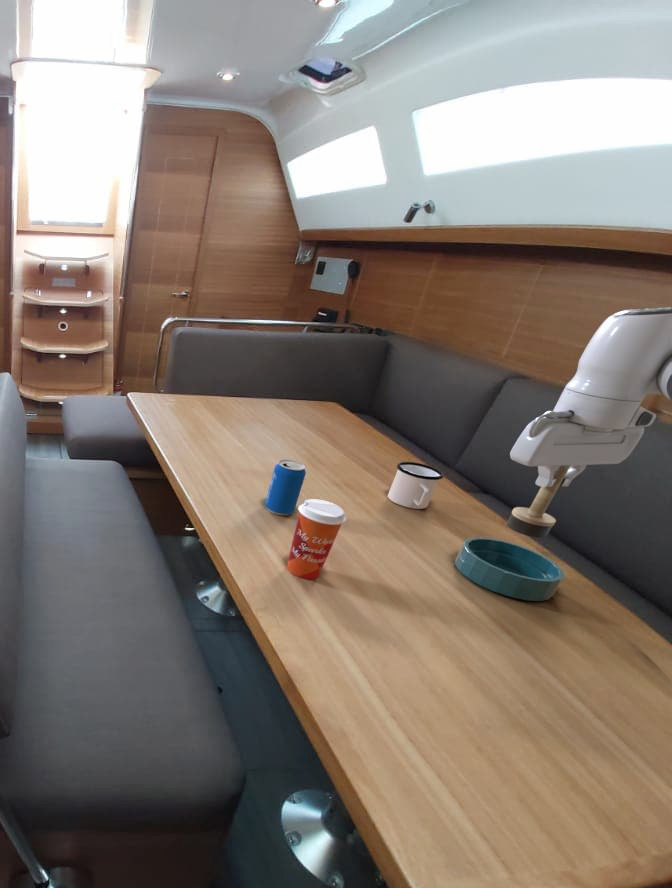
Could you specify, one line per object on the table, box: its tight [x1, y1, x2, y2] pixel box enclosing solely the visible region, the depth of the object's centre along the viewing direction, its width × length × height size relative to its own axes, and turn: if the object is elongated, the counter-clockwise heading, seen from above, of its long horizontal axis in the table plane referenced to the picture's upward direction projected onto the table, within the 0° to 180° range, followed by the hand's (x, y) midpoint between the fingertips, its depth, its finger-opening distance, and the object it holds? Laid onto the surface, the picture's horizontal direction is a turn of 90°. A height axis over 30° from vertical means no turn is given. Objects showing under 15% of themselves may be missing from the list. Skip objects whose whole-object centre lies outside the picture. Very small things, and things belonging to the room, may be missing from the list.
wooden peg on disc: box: [506, 465, 571, 539], centre depth 88 cm, size 6×6×14 cm
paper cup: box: [286, 498, 347, 580], centre depth 93 cm, size 8×8×14 cm
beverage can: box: [264, 459, 307, 516], centre depth 116 cm, size 6×6×12 cm
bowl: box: [454, 536, 565, 602], centre depth 95 cm, size 14×14×5 cm
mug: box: [387, 461, 445, 510], centre depth 122 cm, size 12×10×9 cm
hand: (550, 485), depth 88 cm, fingers closed on wooden peg on disc
